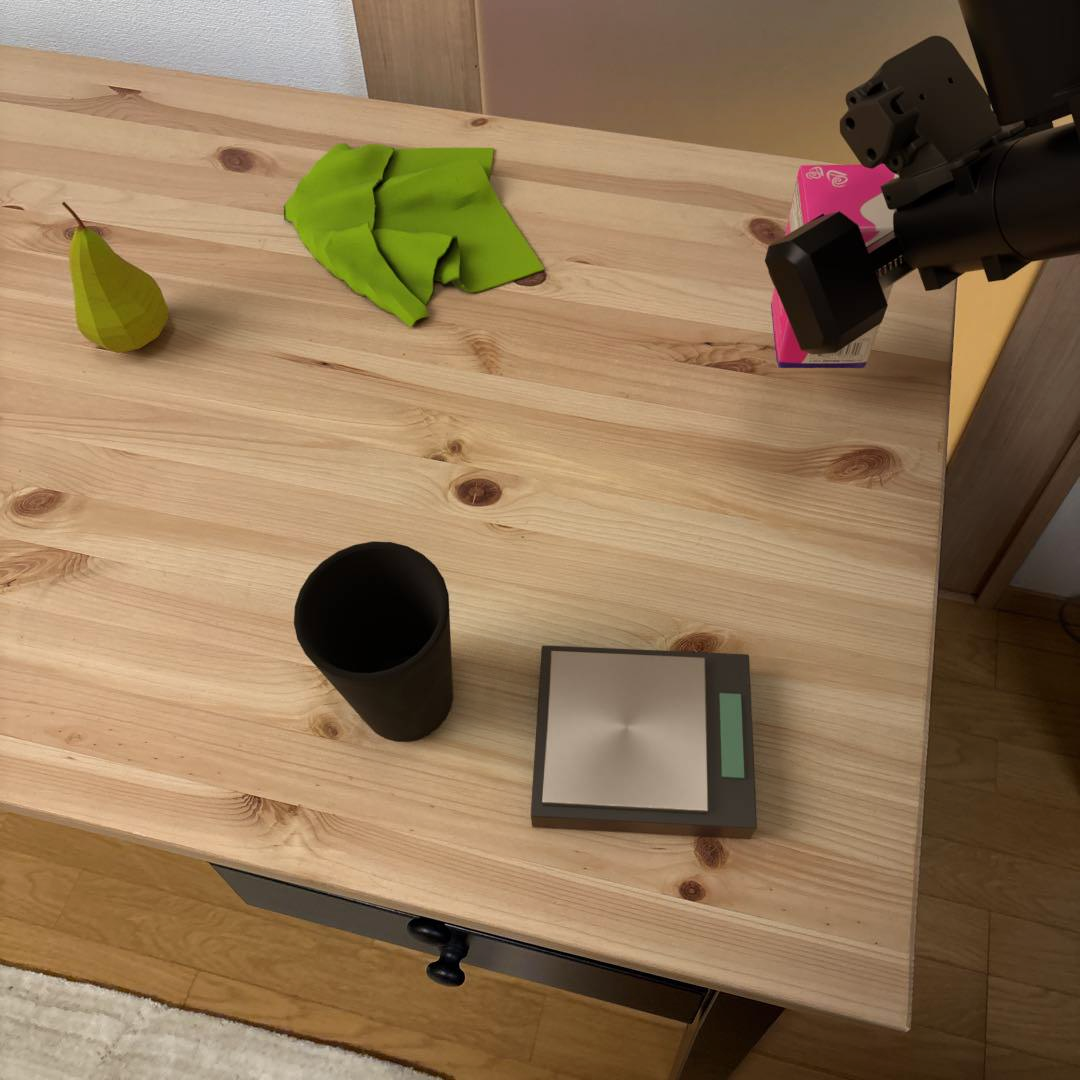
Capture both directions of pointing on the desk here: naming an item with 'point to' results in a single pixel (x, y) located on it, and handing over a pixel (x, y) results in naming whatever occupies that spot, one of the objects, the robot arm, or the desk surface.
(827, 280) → the robot arm
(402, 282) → the cloth
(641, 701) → the scale
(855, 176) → the supplement box
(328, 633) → the cup
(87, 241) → the fruit
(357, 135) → the desk surface
